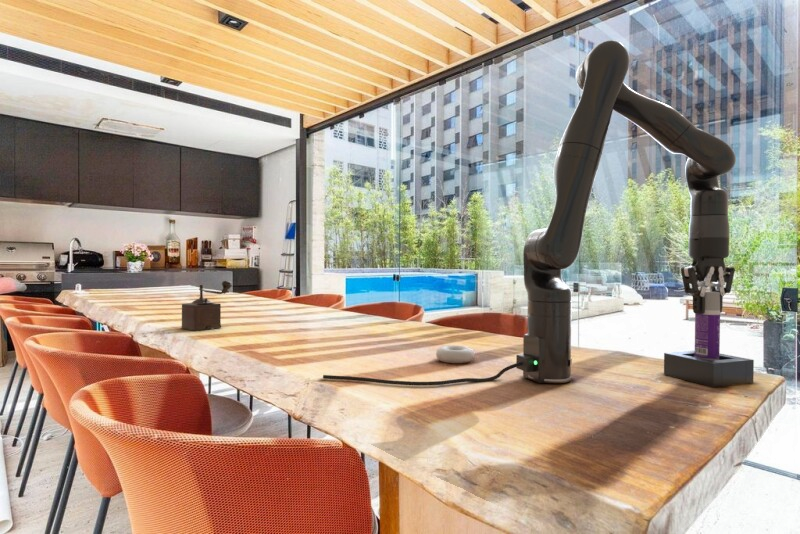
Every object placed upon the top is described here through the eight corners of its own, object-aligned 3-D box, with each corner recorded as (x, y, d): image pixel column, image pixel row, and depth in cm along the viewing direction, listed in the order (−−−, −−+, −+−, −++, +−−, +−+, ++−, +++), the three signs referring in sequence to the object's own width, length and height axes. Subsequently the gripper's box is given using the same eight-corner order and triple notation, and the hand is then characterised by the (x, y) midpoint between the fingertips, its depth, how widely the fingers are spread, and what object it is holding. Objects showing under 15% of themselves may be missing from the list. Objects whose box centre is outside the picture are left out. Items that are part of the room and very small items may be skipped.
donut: (464, 367, 117) (480, 359, 126) (464, 353, 117) (480, 346, 126) (429, 362, 123) (446, 355, 131) (428, 348, 123) (446, 342, 131)
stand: (713, 387, 99) (713, 363, 99) (663, 374, 110) (663, 352, 110) (753, 382, 103) (753, 359, 103) (701, 370, 114) (701, 349, 114)
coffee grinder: (196, 331, 173) (196, 281, 173) (180, 328, 179) (180, 280, 179) (234, 326, 185) (234, 280, 185) (218, 324, 192) (218, 279, 192)
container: (723, 361, 104) (724, 292, 104) (699, 360, 105) (700, 292, 105) (713, 357, 108) (714, 291, 108) (690, 356, 109) (692, 291, 109)
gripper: (715, 237, 112) (714, 310, 112) (669, 236, 107) (668, 312, 108) (748, 236, 105) (747, 313, 105) (700, 234, 100) (699, 316, 100)
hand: (707, 312), depth 106 cm, fingers closed on container, 4 cm apart
